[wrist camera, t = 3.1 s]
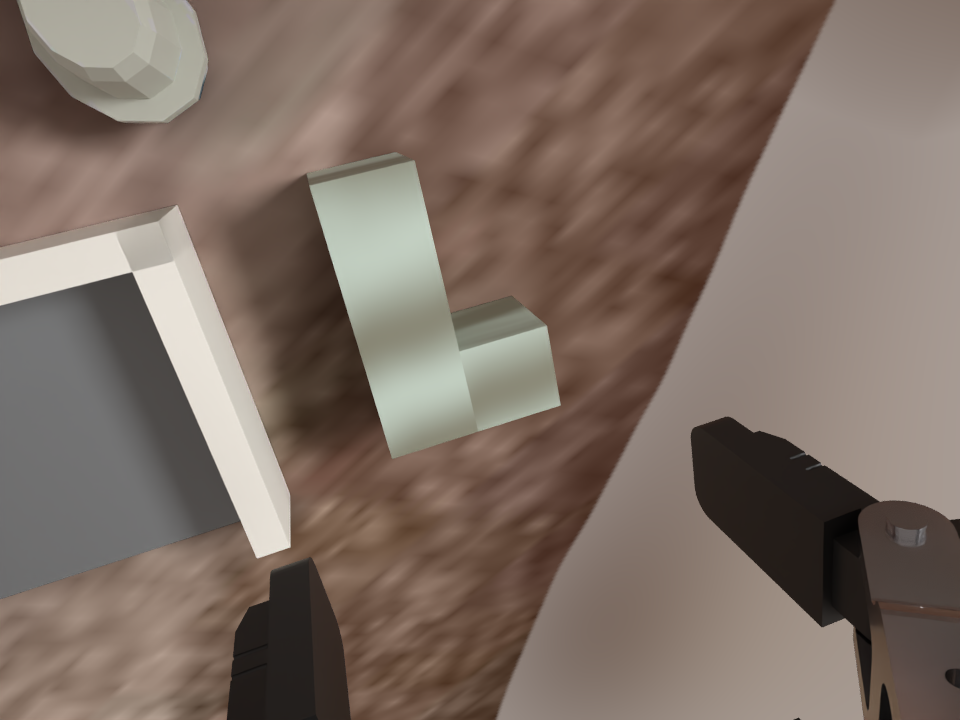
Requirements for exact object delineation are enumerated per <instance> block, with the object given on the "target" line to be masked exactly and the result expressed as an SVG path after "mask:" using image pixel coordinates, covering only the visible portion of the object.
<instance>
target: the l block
mask: <svg viewBox="0 0 960 720" xmlns="http://www.w3.org/2000/svg"><path fill="white" fill-rule="evenodd" d="M307 178H308V182H309V187H310V190H311V193H312V196H313V200H314V203H315V206H316V210H317V213H318V216H319V219H320V223H321V226H322V229H323V233H324V236H325V239H326V242H327V246H328V249H329V252H330V256H331V259H332V262H333V266H334V269H335V272H336V275H337V279H338V282H339V285H340V289H341V292H342V295H343V298H344V302H345V305H346V308H347V312H348V315H349V318H350V321H351V325H352V328H353V331H354V335H355V338H356V341H357V345H358V348H359V351H360V354H361V358H362V361H363V364H364V368H365V371H366V374H367V377H368V381H369V384H370V387H371V391H372V394H373V397H374V400H375V404H376V407H377V410H378V414H379V417H380V420H381V423H382V427H383V430H384V433H385V437H386V440H387V443H388V447H389V450H390V453H391V456H392V459H393V458H397V457H400V456H403V455H406V454H409V453H412V452H415V451H419V450H422V449H425V448H428V447H431V446H434V445H437V444H440V443H444V442H447V441H450V440H453V439H456V438H459V437H462V436H466V435H469V434H472V433H475V432H478V431H481V430H484V429H488V428H491V427H494V426H497V425H500V424H503V423H506V422H510V421H513V420H516V419H519V418H522V417H525V416H528V415H532V414H535V413H538V412H541V411H544V410H547V409H550V408H554V407H557V406H560V399H559V394H558V388H557V382H556V376H555V370H554V365H553V359H552V353H551V347H550V342H549V336H548V330H547V325H545V324H544V323H543V322H542V321H541V320H540V319H538V318H537V317H536V316H535V315H534V314H533V313H531V312H530V311H529V310H528V309H527V308H526V307H524V306H523V305H522V304H521V303H520V302H519V301H517V300H516V299H515V298H514V297H513V296H510V297H506V298H503V299H499V300H496V301H492V302H489V303H485V304H482V305H478V306H475V307H471V308H468V309H464V310H461V311H457V312H454V313H450V309H449V305H448V301H447V297H446V293H445V288H444V284H443V280H442V276H441V271H440V267H439V263H438V259H437V254H436V250H435V246H434V242H433V237H432V233H431V229H430V225H429V220H428V216H427V212H426V208H425V203H424V199H423V195H422V191H421V186H420V182H419V178H418V174H417V169H416V165H415V161H414V160H413V159H410V158H408V157H406V156H403V155H401V154H399V153H396V152H394V153H390V154H386V155H381V156H377V157H373V158H369V159H365V160H361V161H356V162H352V163H348V164H344V165H340V166H336V167H331V168H327V169H323V170H319V171H315V172H311V173H307Z"/></svg>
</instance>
